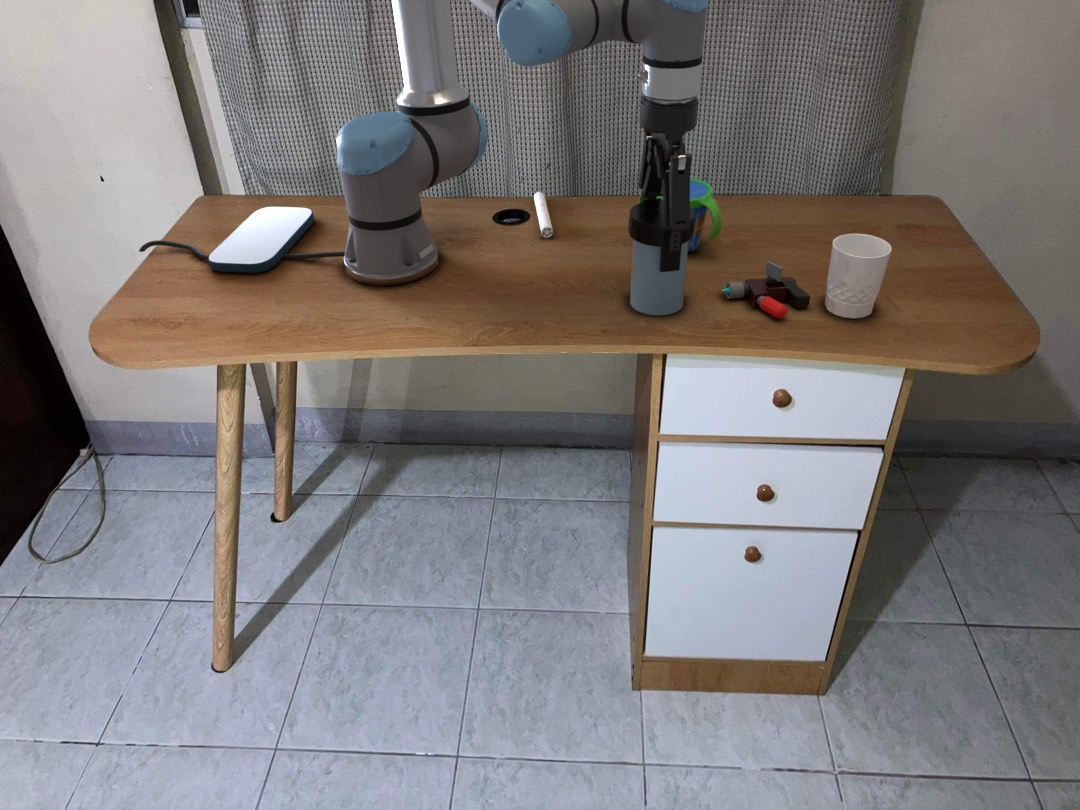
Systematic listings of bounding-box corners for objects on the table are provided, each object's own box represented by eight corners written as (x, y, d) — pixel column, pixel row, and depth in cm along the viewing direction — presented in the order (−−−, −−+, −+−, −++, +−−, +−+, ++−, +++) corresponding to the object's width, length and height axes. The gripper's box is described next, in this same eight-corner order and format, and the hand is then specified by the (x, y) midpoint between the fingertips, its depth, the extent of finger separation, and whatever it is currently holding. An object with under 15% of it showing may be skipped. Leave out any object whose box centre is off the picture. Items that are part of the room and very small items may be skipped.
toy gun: (717, 292, 127) (720, 264, 124) (793, 288, 128) (798, 259, 125) (734, 324, 119) (738, 295, 116) (815, 319, 120) (821, 289, 117)
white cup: (814, 295, 126) (826, 233, 120) (867, 294, 125) (882, 233, 120) (827, 321, 119) (840, 257, 113) (883, 321, 119) (899, 257, 113)
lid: (667, 215, 124) (668, 195, 122) (706, 237, 117) (708, 216, 115) (616, 228, 120) (617, 208, 118) (653, 252, 114) (655, 231, 112)
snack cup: (621, 240, 143) (623, 183, 137) (664, 223, 148) (667, 167, 142) (688, 271, 133) (694, 211, 127) (732, 251, 138) (739, 193, 132)
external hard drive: (269, 276, 135) (266, 265, 134) (203, 273, 137) (199, 262, 136) (320, 217, 154) (318, 207, 153) (261, 215, 156) (259, 205, 155)
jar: (627, 313, 123) (631, 227, 115) (632, 288, 129) (636, 205, 121) (682, 317, 121) (689, 230, 113) (684, 291, 128) (691, 207, 120)
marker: (532, 198, 159) (532, 187, 158) (543, 198, 159) (543, 186, 158) (541, 238, 145) (541, 225, 143) (553, 237, 145) (553, 225, 143)
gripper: (620, 76, 116) (616, 227, 129) (666, 124, 98) (655, 292, 111) (672, 72, 117) (662, 222, 130) (727, 119, 99) (709, 287, 112)
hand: (659, 255), depth 121 cm, fingers closed on lid, 9 cm apart
